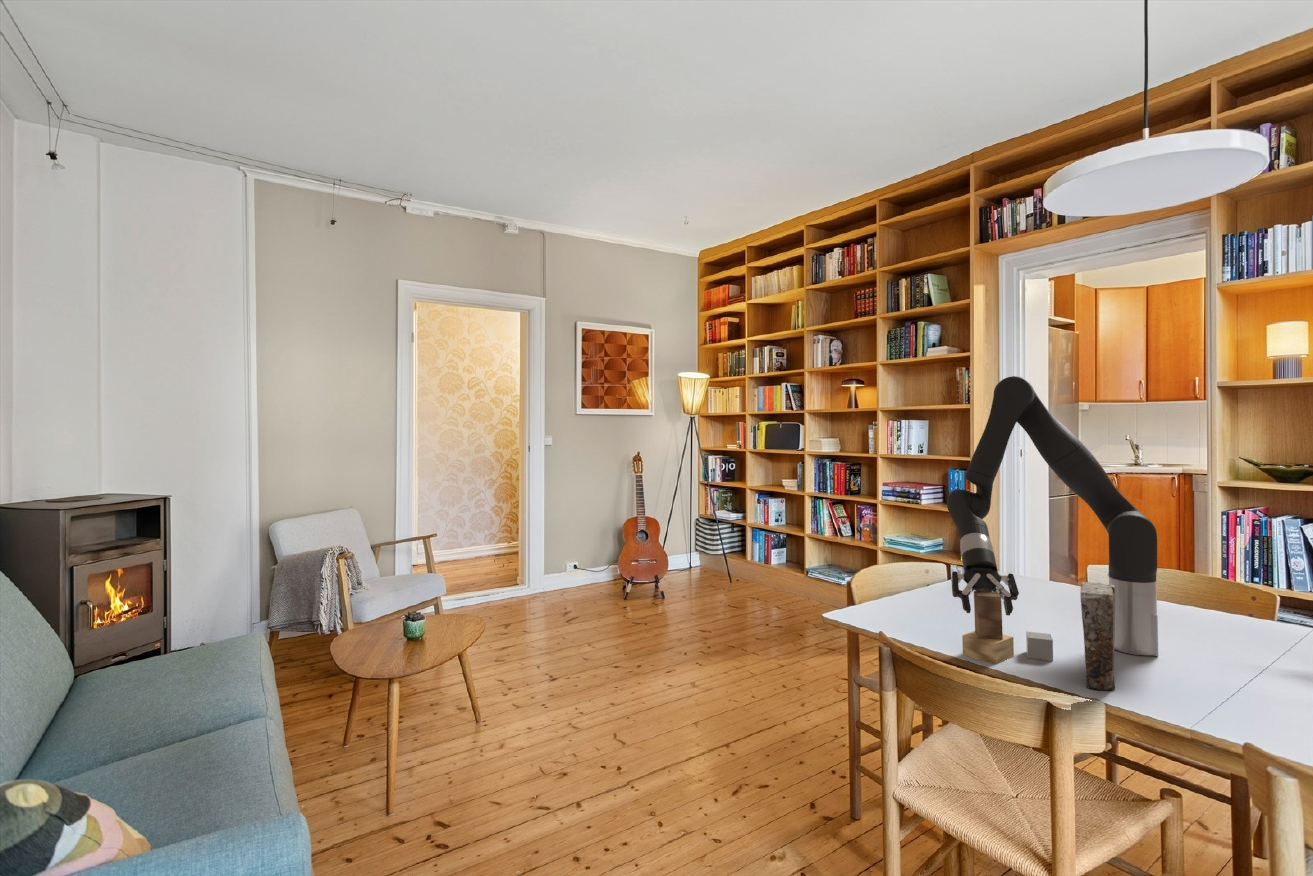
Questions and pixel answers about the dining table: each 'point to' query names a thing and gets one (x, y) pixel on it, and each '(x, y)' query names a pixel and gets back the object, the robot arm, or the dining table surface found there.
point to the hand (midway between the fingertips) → (988, 612)
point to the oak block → (988, 648)
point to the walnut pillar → (988, 615)
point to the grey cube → (1039, 646)
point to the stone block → (1098, 633)
